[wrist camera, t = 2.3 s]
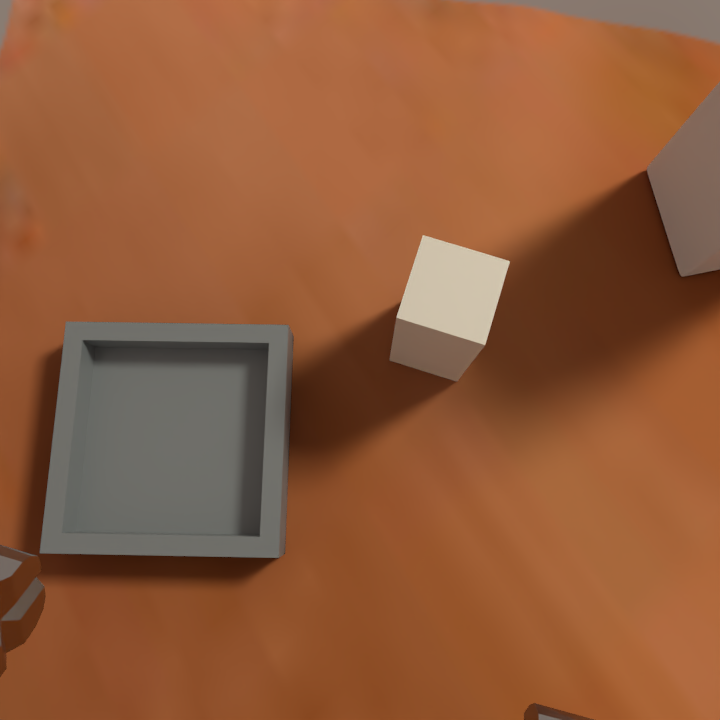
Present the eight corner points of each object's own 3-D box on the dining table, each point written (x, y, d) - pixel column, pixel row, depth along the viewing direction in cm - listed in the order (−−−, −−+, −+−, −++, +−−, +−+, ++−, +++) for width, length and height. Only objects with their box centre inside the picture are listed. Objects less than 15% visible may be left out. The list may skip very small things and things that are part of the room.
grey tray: (284, 553, 35) (278, 557, 33) (62, 549, 35) (39, 553, 33) (293, 336, 37) (288, 324, 35) (85, 333, 38) (66, 321, 35)
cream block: (456, 381, 37) (485, 345, 28) (389, 360, 37) (396, 317, 28) (476, 316, 38) (509, 261, 29) (410, 296, 38) (423, 235, 29)
